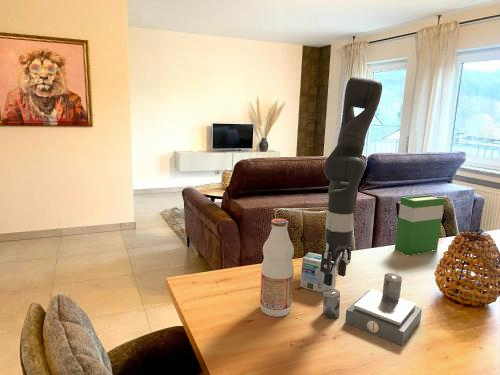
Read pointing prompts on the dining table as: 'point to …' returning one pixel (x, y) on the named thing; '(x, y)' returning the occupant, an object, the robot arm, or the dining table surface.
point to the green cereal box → (419, 224)
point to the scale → (384, 324)
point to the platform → (385, 307)
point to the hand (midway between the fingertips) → (334, 280)
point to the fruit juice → (277, 271)
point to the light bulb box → (314, 273)
